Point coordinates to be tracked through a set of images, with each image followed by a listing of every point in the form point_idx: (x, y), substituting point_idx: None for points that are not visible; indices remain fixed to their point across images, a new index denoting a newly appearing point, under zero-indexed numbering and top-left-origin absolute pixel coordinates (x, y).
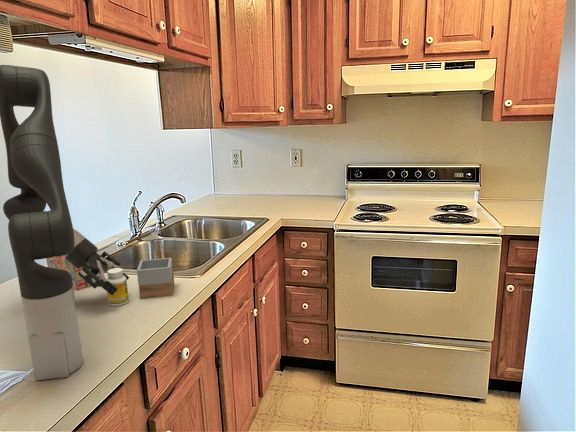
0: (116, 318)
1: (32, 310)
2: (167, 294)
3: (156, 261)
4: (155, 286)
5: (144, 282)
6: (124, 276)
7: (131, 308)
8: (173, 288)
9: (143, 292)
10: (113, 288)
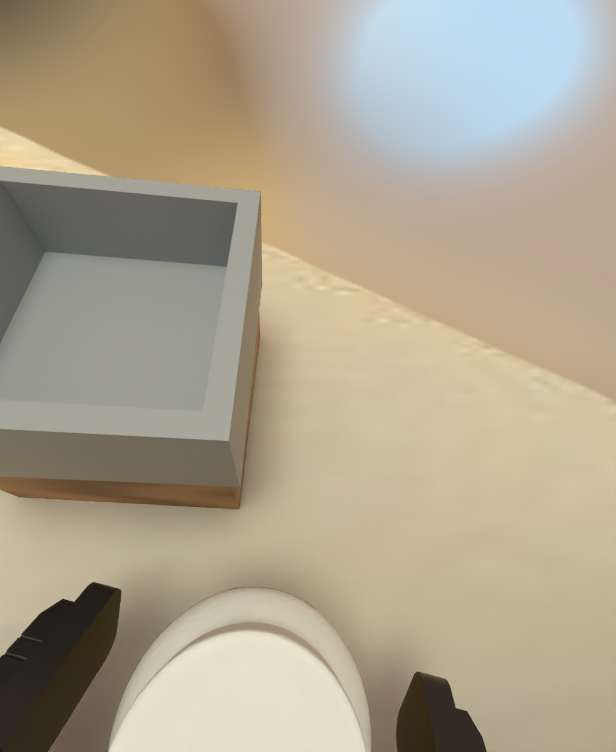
0: (520, 645)
1: None
2: (256, 351)
3: None
4: None
5: (244, 430)
6: (239, 609)
7: (380, 555)
8: None
9: None
10: (454, 725)
